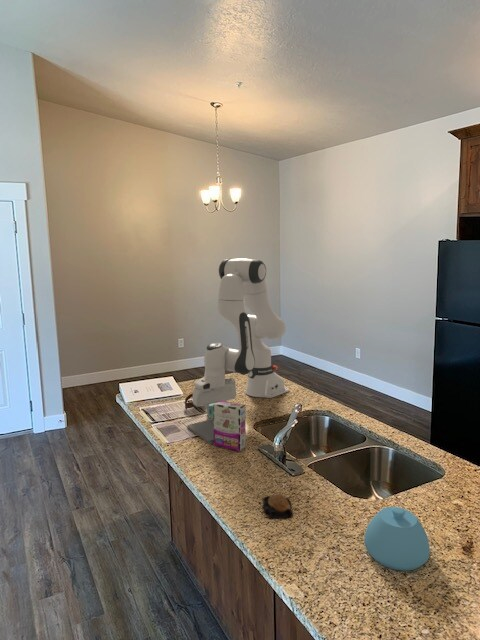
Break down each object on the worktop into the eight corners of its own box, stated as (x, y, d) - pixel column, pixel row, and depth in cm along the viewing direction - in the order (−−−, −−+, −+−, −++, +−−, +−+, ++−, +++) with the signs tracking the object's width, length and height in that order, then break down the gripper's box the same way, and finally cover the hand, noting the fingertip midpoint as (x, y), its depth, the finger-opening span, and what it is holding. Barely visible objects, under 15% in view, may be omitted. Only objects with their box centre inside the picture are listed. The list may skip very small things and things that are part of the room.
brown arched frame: (209, 412, 205) (201, 399, 202) (190, 421, 206) (181, 408, 203) (207, 397, 216) (199, 384, 213) (189, 405, 217) (181, 392, 213)
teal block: (217, 412, 204) (217, 402, 203) (223, 416, 200) (223, 405, 199) (207, 415, 201) (207, 404, 200) (213, 418, 197) (212, 407, 196)
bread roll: (260, 500, 136) (260, 489, 136) (288, 499, 137) (288, 487, 136) (264, 522, 126) (264, 509, 125) (295, 520, 126) (295, 508, 126)
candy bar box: (246, 447, 170) (246, 404, 167) (240, 452, 166) (240, 408, 163) (220, 441, 175) (219, 399, 172) (213, 446, 171) (212, 403, 168)
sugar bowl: (353, 556, 111) (355, 512, 109) (377, 526, 123) (379, 486, 121) (417, 585, 102) (420, 537, 100) (436, 549, 114) (440, 506, 112)
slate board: (217, 420, 195) (217, 417, 195) (240, 435, 180) (240, 432, 180) (187, 427, 187) (187, 425, 187) (209, 443, 173) (209, 440, 172)
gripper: (231, 375, 206) (231, 405, 208) (190, 383, 195) (191, 414, 197) (239, 379, 201) (239, 409, 203) (197, 387, 189) (198, 419, 192)
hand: (215, 412), depth 200 cm, fingers closed on teal block, 5 cm apart
